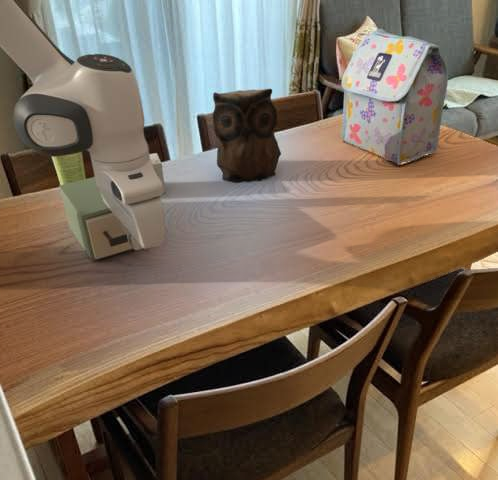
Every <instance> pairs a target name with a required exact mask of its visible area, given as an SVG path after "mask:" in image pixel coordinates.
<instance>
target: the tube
mask: <svg viewBox="0 0 498 480" xmlns="http://www.w3.org/2000/svg"><path fill="white" fill-rule="evenodd" d="M51 160H52V162H53V166H54V168H55V171H56V174H57V178H58V182H59V185H63V184H67V183H71V182H76V181H80V180H84V179H87V178H86V172H85V166H84V165H85V164H84V157H83V152H79V153H75V154H70V155H64V156H56V157H51Z"/></svg>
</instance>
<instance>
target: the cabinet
mask: <svg viewBox="0 0 498 480" xmlns="http://www.w3.org/2000/svg"><path fill="white" fill-rule="evenodd" d="M58 189H59V192H60V196H61V199H62V203H63V208H64V210H65V214H66V218H67V219H66V220H67V222H68V226H69V229H70V231H71V232H72V233H73V234H72V235H74V237H75V238H76V239H77V241H78V243H79V244H80V246H81V247H82V249H83V250H84V251H85V253H86V255H87V256H88V257H89V259H90V260H91V262H95V261H98V260H101V259H104V258H108V257H111V256H114V255H118V254H121V253H124V252H127V251H131V250H135V249H134V248H132V249H129V250H125V251H122V252H119V253H115V254H112V255H109V256H106V257H102V258H99V259H96V258H95V257H94V253H93V249H92V245H91V241H90V237H89V233H88V229H87V225H86V218H90V217H94V216H97V215H101V214H105V213H109V212H112V211H111V210H110V208H109V207H108V206H107V205H106V204H105V203H104V201H103V198H102V195H101V191H100V187H98V186H97V184H96V180H95V176H92V177H89V178H86V179H84V180H80V181H76V182H71V183H67V184H63V185H60V184H59V185H58Z"/></svg>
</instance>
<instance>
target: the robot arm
mask: <svg viewBox="0 0 498 480" xmlns="http://www.w3.org/2000/svg"><path fill="white" fill-rule="evenodd" d="M0 48H1V49H2V50H3V51H4V52H5V53H6V54H7V56H9V58H11V60H12V61H13V62H14V63H15V64H16V65H17V66H18V67H19V68H20V69H21V70H22V71H23V72H24V74H26V75H27V77H28V78H29V80H30V81H31V84H32V86H31V87H30V88H28V89H27V90H26V91H25V92H24V93H23V94H22V95H21V96H20V98H19V99H18V100H17V102H16V103H15V105H14V108H13V112H12V114H13V115H12V119H13V124H14V128H15V130H16V133H17V135H18V136H19V138H20V139H21V141H22V142H23V144H25V145H26V146H27V147H28V148H29V149H31V150H32V151H33V152H35V153H37V154H39V155H42V156H46V157H51V158H52V157H56V156H64V155H70V154H75V153H79V152H82V153H83V152H85V151H87V152H89V157H90V161H91V165H92V170H93V175H94V177H95V180H96V184H97V186H98V187H100V191H101V195H102V198H103V201H104V203H105V204H106V205H107V206H108V207H109V208H110V210H111V211H112V212H113V213H114V214H115V216H116V217H117V218H118V219H119V220H120V221H121V223H122V224H123V227H124V229H125V232H126V234H127V238H128V242H129V243H130V245H131V246H132V247H133V248H134V249H133V250H134V251H139V250H142V249H144V250H148V249H151V248H155V247H158V246H160V245H163V244H164V242H165V239H166V225H165V224H166V223H165V214H164V213H165V212H164V207H163V205H164V204H163V202H162V199H161V197H160V196H163V195H164V194H165V193H164V191H163V184H162V182H161V180H160V179H159V177H158V175H157V174H156V172H155V170H154V168H153V165H152V161H151V159H150V155H149V154H150V148H149V144H148V142H147V139H146V137H145V133H144V132H145V131H144V128H145V114H144V107H143V101H142V97H141V93H140V88H139V86H138V82H137V78H136V75H135V73H134V71H133V68H131V65H129V64H128V63H127V62H126V61H125V60H123V59H120V58H119V57H116V56H114V55H109V54H105V53H94V54H93V53H92V54H90V53H88V54H83V55H81V56H79V57H77V59H76V60H73V59H71V58H70V57H69V56H68V55H66V54H65V53H64V52H62V50H60V48H59V47H58V46H57V45H56V44H55V42H54V41H52V40H51V39H50V37H49V35H47V33H46V32H45V31H44V30H43V29H42V28H41V26H39V24H37V22H36V21H35V20H34V19H33V18H32V16H31V15H30V14H29V13H28V12H27V10H25V8H24V7H23V6H22V5H21V4H20V2H18V1H17V0H0Z"/></svg>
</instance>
